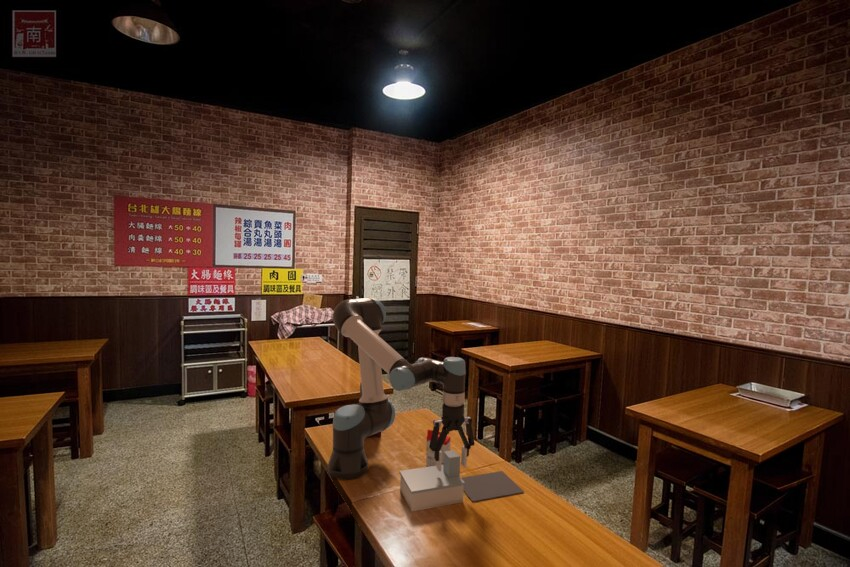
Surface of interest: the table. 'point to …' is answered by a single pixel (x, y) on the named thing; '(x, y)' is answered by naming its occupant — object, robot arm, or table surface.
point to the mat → (489, 486)
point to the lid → (434, 475)
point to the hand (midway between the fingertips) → (451, 467)
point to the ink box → (430, 454)
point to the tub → (431, 497)
